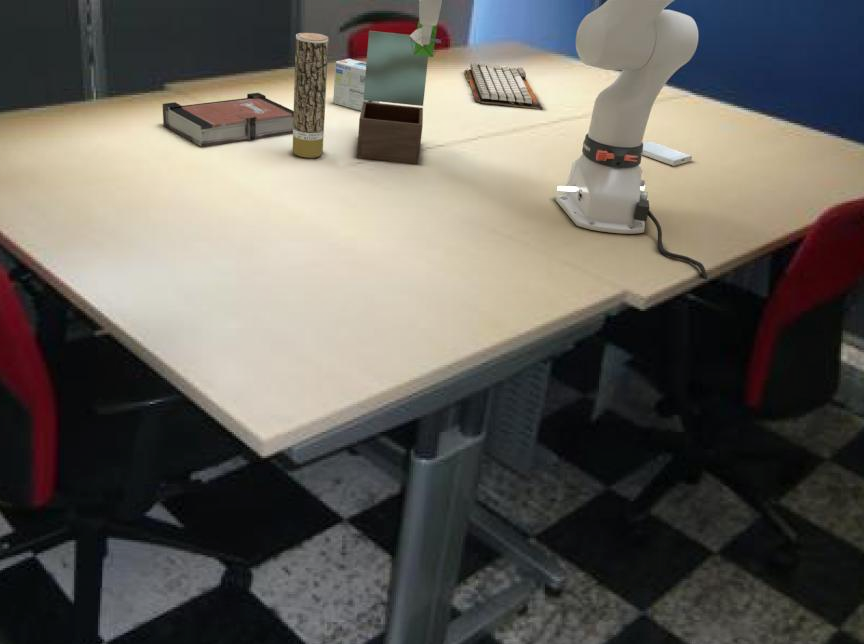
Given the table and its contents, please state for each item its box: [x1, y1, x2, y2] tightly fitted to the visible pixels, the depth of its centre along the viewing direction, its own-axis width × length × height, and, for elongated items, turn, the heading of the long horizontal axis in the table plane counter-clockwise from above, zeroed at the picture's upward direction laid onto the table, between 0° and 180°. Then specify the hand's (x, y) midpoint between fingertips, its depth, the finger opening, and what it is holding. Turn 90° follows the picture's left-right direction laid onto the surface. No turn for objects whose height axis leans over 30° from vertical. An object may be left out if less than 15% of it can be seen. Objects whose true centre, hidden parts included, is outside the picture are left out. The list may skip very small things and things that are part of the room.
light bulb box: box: [332, 58, 380, 112], centre depth 235 cm, size 11×7×11 cm, turn 58°
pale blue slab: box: [363, 30, 429, 107], centre depth 208 cm, size 15×14×1 cm
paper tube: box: [292, 32, 329, 159], centre depth 195 cm, size 7×7×25 cm
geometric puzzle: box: [408, 20, 443, 58], centre depth 194 cm, size 7×7×8 cm
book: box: [162, 92, 294, 148], centre depth 210 cm, size 26×18×5 cm
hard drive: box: [642, 140, 693, 167], centre depth 226 cm, size 2×8×12 cm
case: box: [356, 102, 424, 165], centre depth 207 cm, size 14×14×9 cm
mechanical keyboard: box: [463, 61, 543, 110], centre depth 267 cm, size 38×19×3 cm, turn 2°
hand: (425, 39), depth 194 cm, fingers closed on geometric puzzle, 7 cm apart
